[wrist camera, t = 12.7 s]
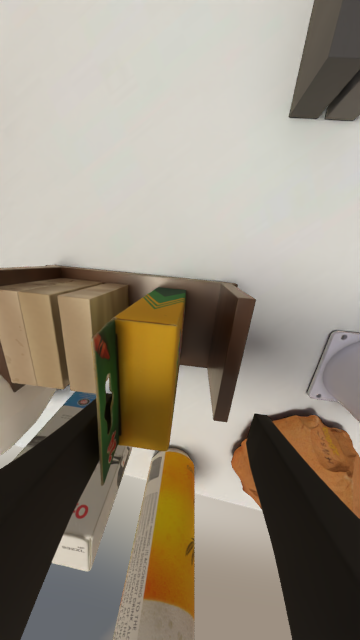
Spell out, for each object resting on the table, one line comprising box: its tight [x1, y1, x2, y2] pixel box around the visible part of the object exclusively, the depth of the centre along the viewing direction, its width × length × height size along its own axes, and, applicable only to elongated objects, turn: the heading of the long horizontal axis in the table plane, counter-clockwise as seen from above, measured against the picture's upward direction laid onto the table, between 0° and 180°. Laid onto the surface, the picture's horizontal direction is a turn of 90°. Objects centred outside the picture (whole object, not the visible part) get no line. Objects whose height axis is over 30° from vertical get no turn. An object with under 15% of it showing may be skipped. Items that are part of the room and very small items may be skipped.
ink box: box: [13, 391, 132, 571], centre depth 17 cm, size 8×5×12 cm, turn 80°
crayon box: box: [91, 287, 186, 486], centre depth 12 cm, size 7×3×12 cm, turn 175°
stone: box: [231, 415, 360, 519], centre depth 20 cm, size 15×15×10 cm
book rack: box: [0, 265, 256, 422], centre depth 15 cm, size 18×9×8 cm, turn 85°
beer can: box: [113, 448, 194, 640], centre depth 18 cm, size 6×6×15 cm
